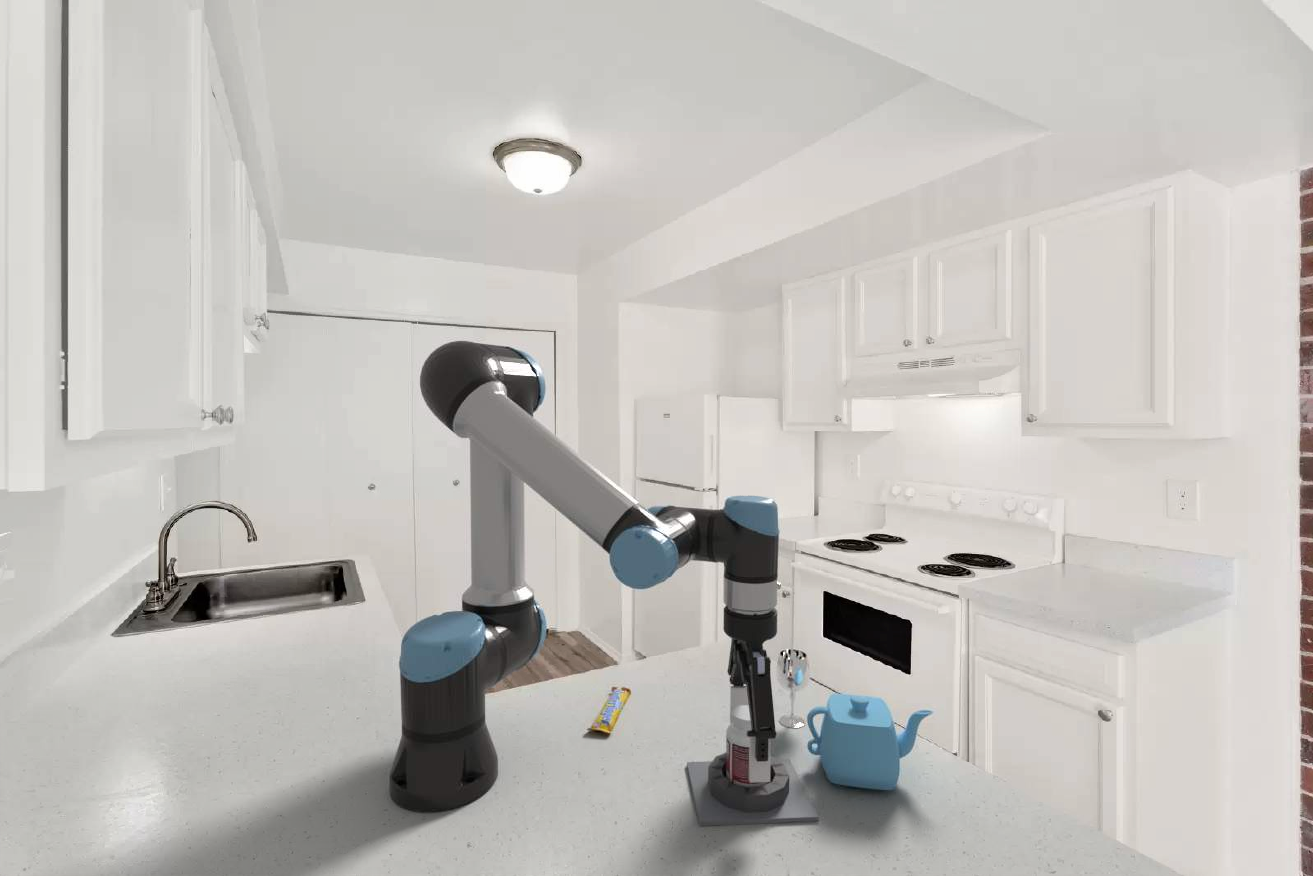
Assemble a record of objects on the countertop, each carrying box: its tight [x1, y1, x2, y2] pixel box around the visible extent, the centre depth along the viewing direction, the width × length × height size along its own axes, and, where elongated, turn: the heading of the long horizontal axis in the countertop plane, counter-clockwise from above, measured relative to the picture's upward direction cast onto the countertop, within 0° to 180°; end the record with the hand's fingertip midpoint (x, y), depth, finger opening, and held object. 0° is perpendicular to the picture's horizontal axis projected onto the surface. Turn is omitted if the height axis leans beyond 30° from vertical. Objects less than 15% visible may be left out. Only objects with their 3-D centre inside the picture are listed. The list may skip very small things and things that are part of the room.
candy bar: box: [586, 686, 632, 734], centre depth 115 cm, size 17×4×2 cm, turn 169°
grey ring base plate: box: [686, 752, 819, 827], centre depth 91 cm, size 16×14×3 cm
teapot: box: [806, 693, 934, 791], centre depth 96 cm, size 12×18×12 cm
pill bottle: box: [725, 705, 770, 787], centre depth 91 cm, size 6×6×11 cm
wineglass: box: [775, 648, 811, 729], centre depth 111 cm, size 6×6×12 cm
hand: (748, 753), depth 91 cm, fingers open, 13 cm apart
